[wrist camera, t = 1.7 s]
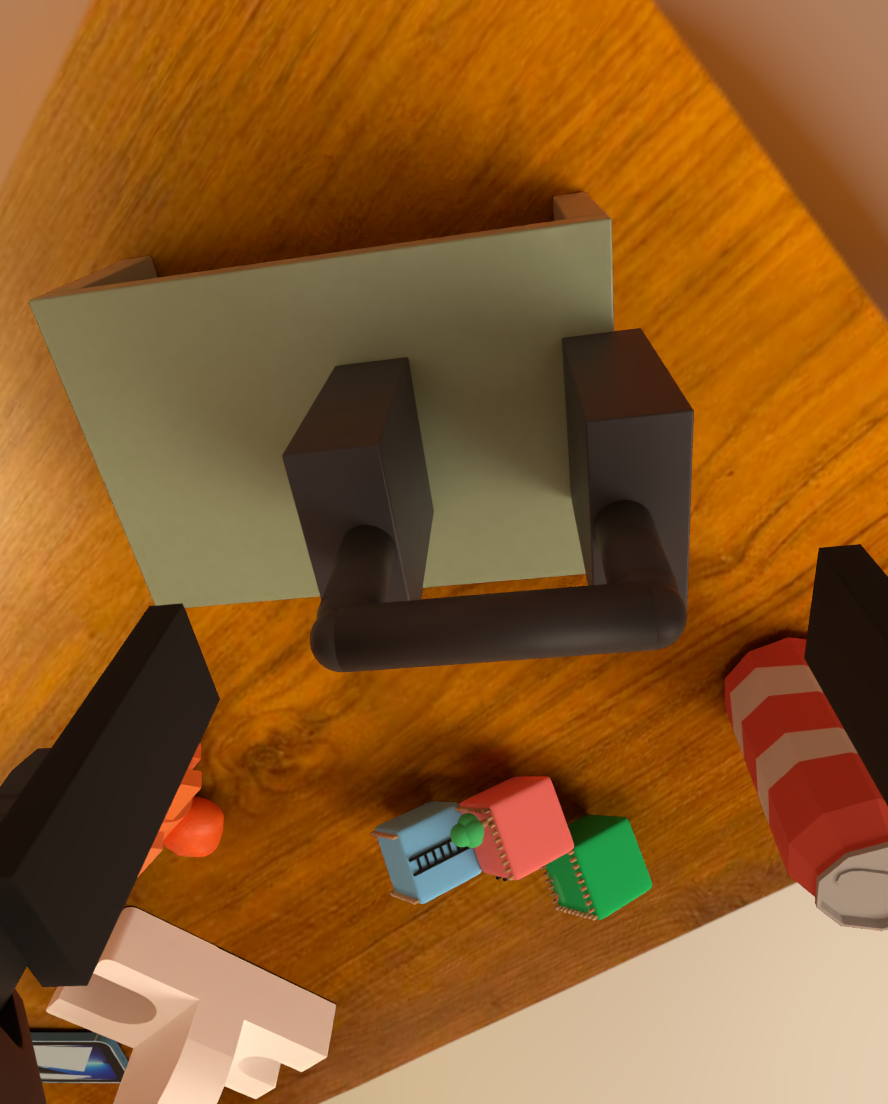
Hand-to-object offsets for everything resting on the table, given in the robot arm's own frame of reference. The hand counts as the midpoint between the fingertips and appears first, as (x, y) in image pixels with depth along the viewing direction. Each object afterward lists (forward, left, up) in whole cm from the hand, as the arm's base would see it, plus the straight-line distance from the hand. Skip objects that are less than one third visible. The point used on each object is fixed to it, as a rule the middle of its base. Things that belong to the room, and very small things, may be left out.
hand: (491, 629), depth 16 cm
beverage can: (+18, +13, -18) cm, 28 cm away
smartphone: (+55, -45, -18) cm, 73 cm away
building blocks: (+27, -2, -18) cm, 32 cm away
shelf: (0, -5, -18) cm, 18 cm away
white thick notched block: (+45, -27, -18) cm, 55 cm away
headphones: (0, 0, -11) cm, 11 cm away
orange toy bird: (+24, -22, -18) cm, 37 cm away
